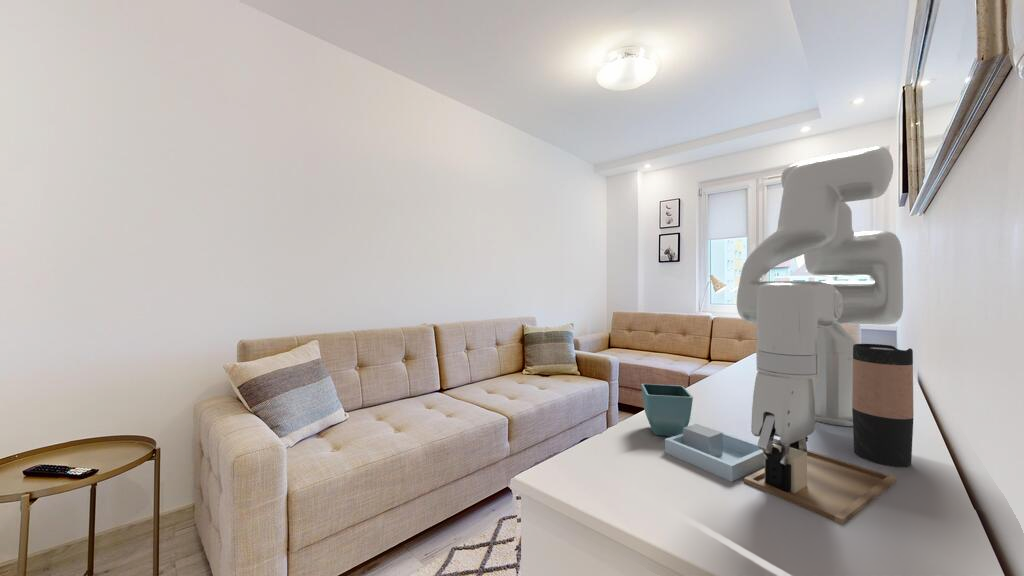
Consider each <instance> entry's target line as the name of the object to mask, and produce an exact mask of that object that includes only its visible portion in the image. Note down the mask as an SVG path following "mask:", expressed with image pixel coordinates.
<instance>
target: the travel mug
mask: <svg viewBox="0 0 1024 576" xmlns="http://www.w3.org/2000/svg"><path fill="white" fill-rule="evenodd" d="M913 354H914V351H913V349H912V348H908V349H906V350H904V349H903V350H902V349H899V348H896V347H895V346H894V345H892V344H891V345H889V344H877V343H856V344H854V345H853V386H852V415H853V426H852V436H853V453H854V454H855V455H856V456H857V457H859V458H861V459H862V460H864V461H868V462H871V463H874V464H878V465H882V466H887V467H892V468H900V469H901V468H903V469H904V468H910V467H911V466H912V457H913V438H914V437H913V436H914V435H913V434H914V355H913Z"/></svg>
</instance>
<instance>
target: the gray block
mask: <svg viewBox="0 0 1024 576" xmlns="http://www.w3.org/2000/svg"><path fill="white" fill-rule="evenodd" d="M716 430H717V429H714V428H711V427H709V426H705V425H701V424H698V423H695V424H691V425H688V426H687V427H685V428H683V444H684V445H686V446H689V447H691V448H694V449H696V450H699V451H701V452H704V453H706V454H709V455H711V456H714V457H719V456H721V455H723V433H724V432H723V431H720V430H717V431H716ZM719 431H720V432H719ZM722 432H723V433H722Z"/></svg>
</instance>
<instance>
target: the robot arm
mask: <svg viewBox="0 0 1024 576" xmlns="http://www.w3.org/2000/svg"><path fill="white" fill-rule="evenodd" d="M893 161H894V160H893V157H892V154H891V153H890V151H889V150H888V149H887V147H884V146H873V147H870V148H869V147H868V148H863V149H858V150H857V149H856V150H853V151H848V152H843V153H837V154H831V155H826V156H821V157H816V158H811V159H807V160H803V161H799V162H796V163H793V164H791V165H789V166H787V167H786V168H784V169H783V171H782V172H781V173H782V174H781V176H780V177H781V178H780V179H781V180H780V181H781V185H782V186H781V187H782V189H783V190H782V197H781V203H780V209H779V215H778V220H777V221H778V222H777V228H776V231H775V232H773V233H772V234H771V235H769V236H767V238H765V239H764V240H763V241H762V242H760V243H759V244H758V246H756V248H755V249H753V251H751V253H750V254H749V255H748V257H747V258H746V260H745V262H743V263H744V264H743V266H742V268H741V272H740V277H739V283H738V288H737V293H736V310H737V313H738V314H739V316H740V318H741V319H743V321H745V322H747V323H750V324H756V349H755V350H756V352H755V353H756V355H755V356H756V375H755V381H754V385H753V394H752V407H751V427H750V428H751V433H752V435H753V436H755V437H759V438H758V442H757V444H758V447H759V448H760V449H761V450H763V452H764V458H765V466H764V468H765V481H766V483H767V484H768V485H771V486H773V487H776V488H778V489H781V490H783V491H785V492H789V491H791V465H790V464H788V456H789V447H791V448H795V449H798V450H801V451H804V452H807V450H808V446H807V442H808V441H809V440H808V439H809V436H811V435H812V434H813V433H814V431H815V428H816V422H819V423H824V424H827V425H828V424H829V425H832V426H834V425H835V426H840V427H843V426H844V427H853V415H852V386H853V345H854V344H857V342H856V340H855V338H854V337H853V335H852V334H851V333H850V332H848V330H847V329H845V327H843V325H842V324H857V325H858V324H859V325H875V326H876V325H877V326H881V325H883V326H885V325H886V326H887V325H894V324H896V323H898V322H899V321H900V320H901V317H902V314H903V309H904V275H903V273H904V271H903V269H904V268H903V267H904V266H903V263H904V262H903V249H902V244H901V241H900V239H899V237H898V236H897V235H896V234H895V233H893V232H891V231H887V230H872V231H869V230H868V231H859V232H857V231H856V232H855V231H854V229H853V218H852V217H853V214H852V209H851V207H850V206H849V205H848V204H847V203H848V202H855V201H857V202H858V201H864V200H865V201H866V200H872V199H877V198H880V197H881V196H883V195H884V194H885V193H886V191H887V190H888V187H889V185H890V182H891V180H892V177H893V174H894V173H893V172H894V162H893ZM802 255H803V256H804V258H803V259H804V264H805V265H804V266H805V268H806V271H807V272H808V273H809V274H811V275H813V276H817V277H869V278H870V279H871V280H824V281H823V280H822V281H814V280H813V281H811V280H810V281H800V280H799V281H798V280H797V281H795V280H794V281H793V280H792V281H791V280H789V281H788V280H783V281H782V280H781V281H780V280H777V281H776V280H775V281H774V280H773V281H772V280H771V281H763V279H764V278H765V276H766V275H767V274H768V273H769V272H771V270H773V269H774V268H776V267H777V266H779V265H780V264H783V263H785V262H787V261H791V260H792V259H796V258H797V257H801V256H802ZM775 436H776V437H779V438H780V439H776V438H775ZM774 444H776V445H779V446H782V447H781V452H780V451H779V449H778V448H776V447H774Z"/></svg>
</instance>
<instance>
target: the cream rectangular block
mask: <svg viewBox="0 0 1024 576" xmlns="http://www.w3.org/2000/svg"><path fill="white" fill-rule="evenodd" d="M773 445H774V447H776V448H778V449H779V451H780V452H781V447H782V446H779V445H776V444H773ZM788 464H790V465H791V492H793V493H796V492H797V491H799V490H801V489H802V488H804V487H806V486H807V452H804V451H801V450H798V449H795V448H791V447H789V456H788Z"/></svg>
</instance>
